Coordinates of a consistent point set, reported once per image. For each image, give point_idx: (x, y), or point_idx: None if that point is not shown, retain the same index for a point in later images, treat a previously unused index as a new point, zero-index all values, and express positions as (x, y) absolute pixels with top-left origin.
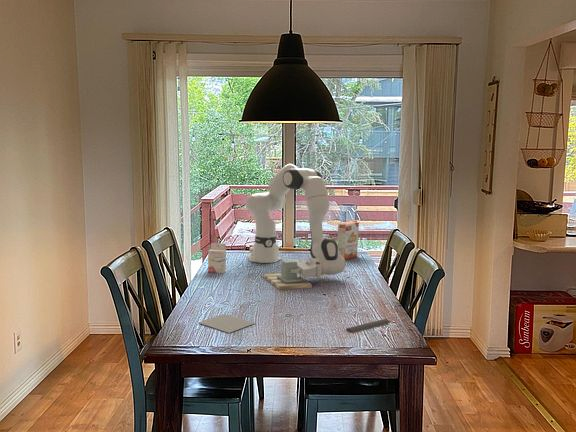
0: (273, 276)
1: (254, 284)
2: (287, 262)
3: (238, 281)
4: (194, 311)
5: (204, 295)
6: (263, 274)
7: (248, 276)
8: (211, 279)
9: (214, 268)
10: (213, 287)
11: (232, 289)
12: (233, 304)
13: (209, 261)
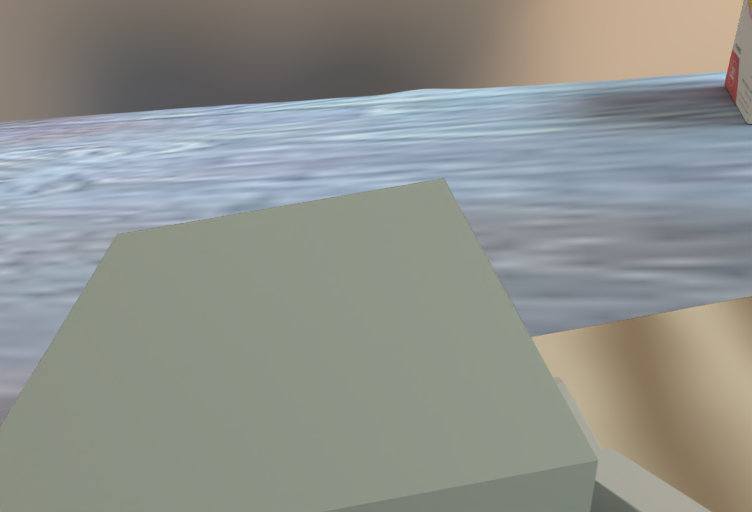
0: (632, 394)
1: None
2: (98, 267)
3: (498, 191)
4: (43, 139)
5: (233, 131)
6: (746, 302)
7: (699, 226)
8: (543, 111)
9: (739, 68)
10: (363, 133)
11: (292, 184)
12: (9, 206)
13: (743, 7)
